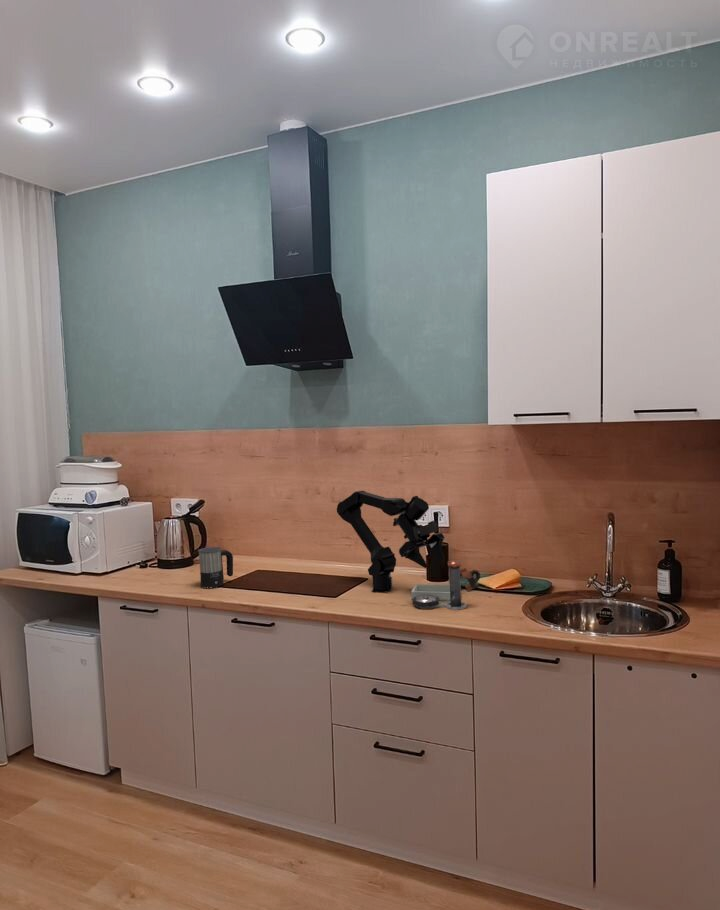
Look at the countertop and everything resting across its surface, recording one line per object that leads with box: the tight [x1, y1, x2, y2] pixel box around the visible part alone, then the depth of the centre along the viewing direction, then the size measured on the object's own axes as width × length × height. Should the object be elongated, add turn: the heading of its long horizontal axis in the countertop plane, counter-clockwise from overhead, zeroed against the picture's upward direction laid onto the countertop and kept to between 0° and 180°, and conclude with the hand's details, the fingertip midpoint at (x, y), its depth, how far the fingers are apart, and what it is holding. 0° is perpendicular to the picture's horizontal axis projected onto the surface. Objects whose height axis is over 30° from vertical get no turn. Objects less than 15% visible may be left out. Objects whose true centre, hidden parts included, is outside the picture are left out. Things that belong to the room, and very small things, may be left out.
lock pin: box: [447, 559, 462, 607], centre depth 222 cm, size 4×4×15 cm
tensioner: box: [411, 595, 467, 611], centre depth 223 cm, size 18×9×3 cm, turn 76°
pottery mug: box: [448, 567, 481, 592], centre depth 246 cm, size 12×10×8 cm
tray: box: [410, 583, 450, 602], centre depth 235 cm, size 16×10×3 cm, turn 76°
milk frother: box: [197, 546, 234, 589], centre depth 267 cm, size 14×16×15 cm
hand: (435, 564), depth 228 cm, fingers open, 9 cm apart
